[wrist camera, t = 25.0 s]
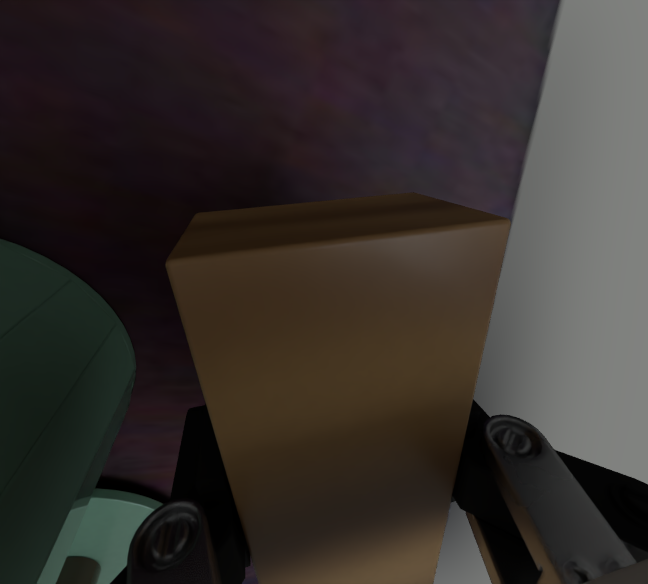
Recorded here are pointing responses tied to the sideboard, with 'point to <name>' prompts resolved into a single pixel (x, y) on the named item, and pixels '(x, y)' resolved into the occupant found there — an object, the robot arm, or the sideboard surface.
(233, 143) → the sideboard surface
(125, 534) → the lid
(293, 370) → the tan wooden bar
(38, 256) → the pot
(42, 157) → the sideboard surface
